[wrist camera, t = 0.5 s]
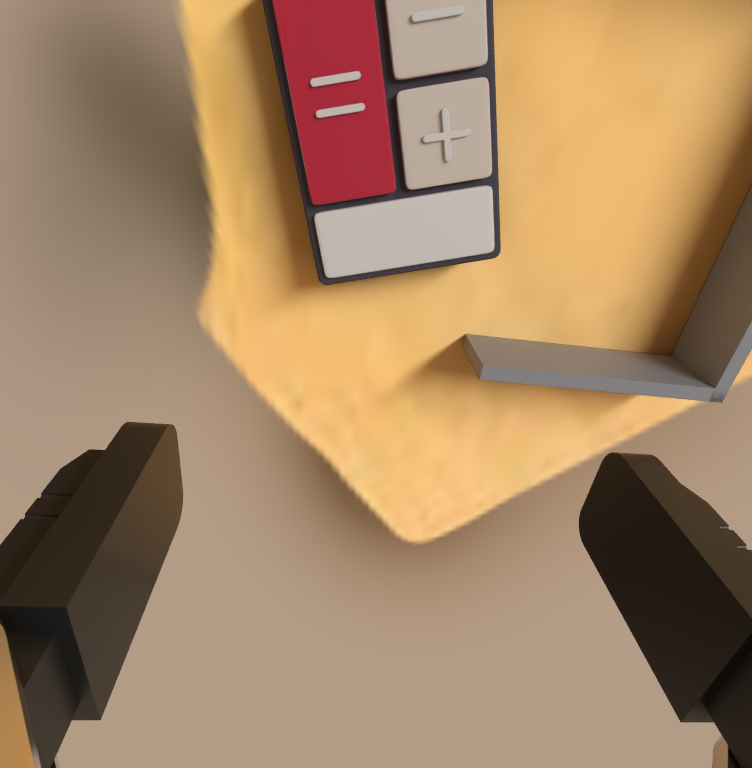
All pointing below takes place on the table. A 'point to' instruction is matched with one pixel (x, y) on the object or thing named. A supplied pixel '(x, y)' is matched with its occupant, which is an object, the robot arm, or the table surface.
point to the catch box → (642, 370)
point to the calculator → (391, 130)
